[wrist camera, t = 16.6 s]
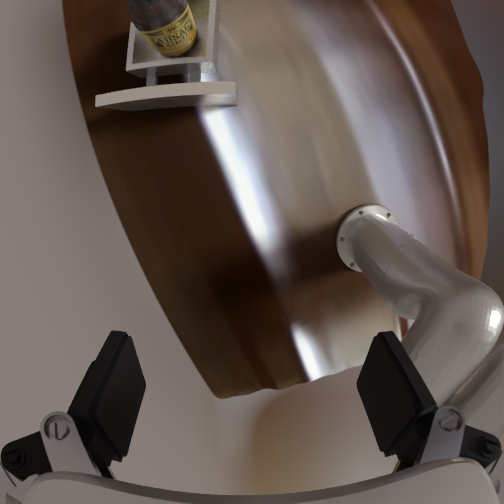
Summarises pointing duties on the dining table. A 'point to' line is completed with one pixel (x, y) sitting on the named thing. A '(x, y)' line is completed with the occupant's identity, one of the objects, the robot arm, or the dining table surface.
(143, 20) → the sauce bottle
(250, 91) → the dining table surface
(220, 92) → the open square box
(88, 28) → the dining table surface
